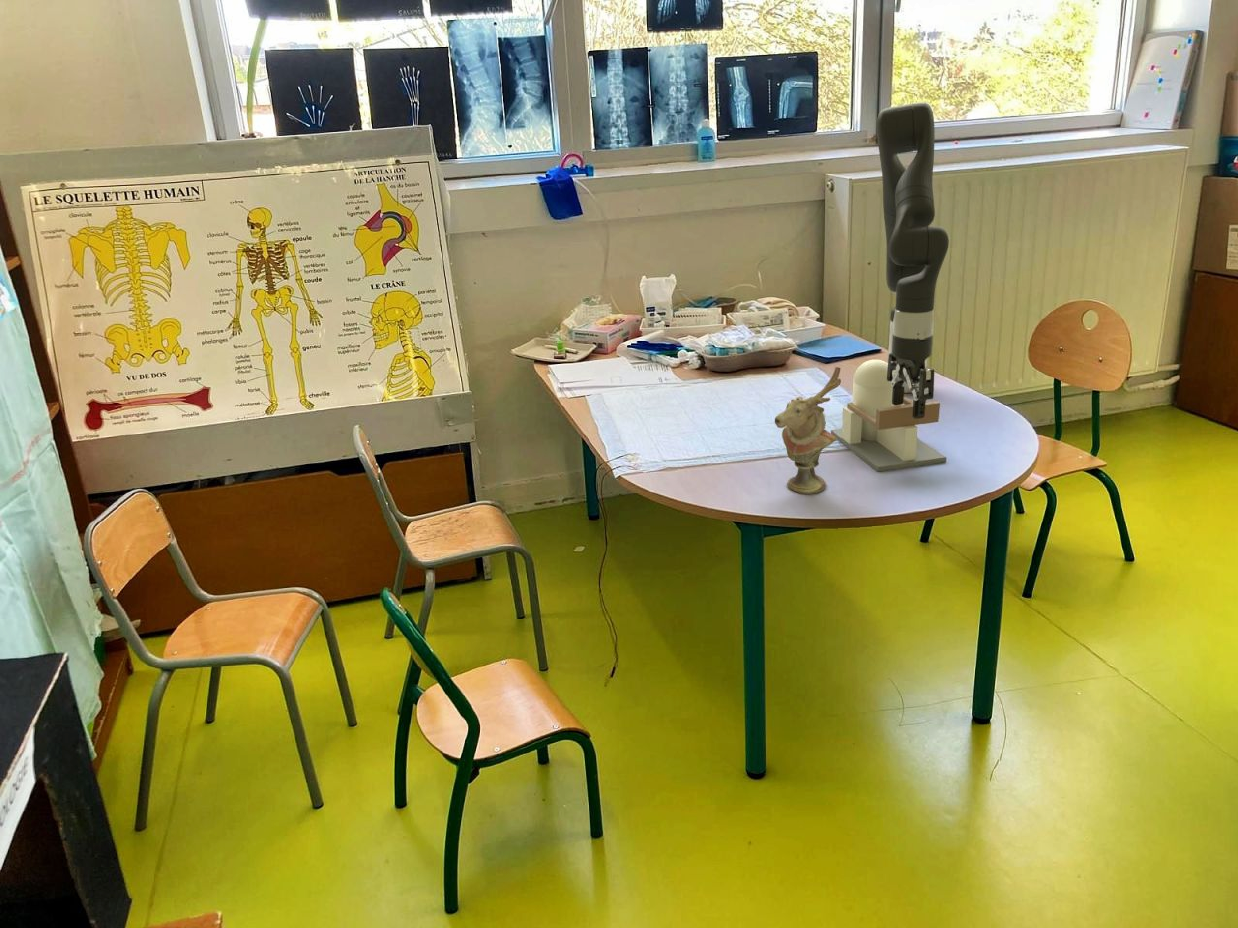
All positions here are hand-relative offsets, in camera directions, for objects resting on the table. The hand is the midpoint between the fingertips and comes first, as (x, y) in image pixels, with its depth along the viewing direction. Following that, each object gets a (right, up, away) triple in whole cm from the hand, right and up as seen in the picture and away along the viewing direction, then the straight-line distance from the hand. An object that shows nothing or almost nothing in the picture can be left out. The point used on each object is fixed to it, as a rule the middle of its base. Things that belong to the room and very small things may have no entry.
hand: (907, 411), depth 185 cm
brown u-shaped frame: (-1, 0, +7) cm, 7 cm away
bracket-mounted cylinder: (-1, -7, +12) cm, 14 cm away
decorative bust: (-23, -15, -5) cm, 28 cm away
